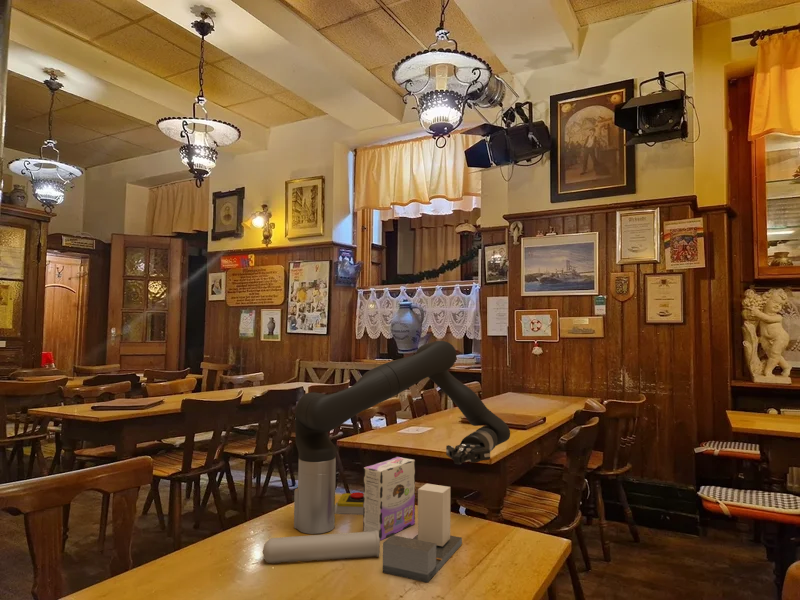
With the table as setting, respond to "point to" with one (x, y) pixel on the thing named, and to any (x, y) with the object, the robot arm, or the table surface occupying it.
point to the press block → (434, 514)
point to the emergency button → (350, 504)
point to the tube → (322, 547)
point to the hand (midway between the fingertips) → (457, 460)
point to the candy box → (389, 496)
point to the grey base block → (416, 556)
